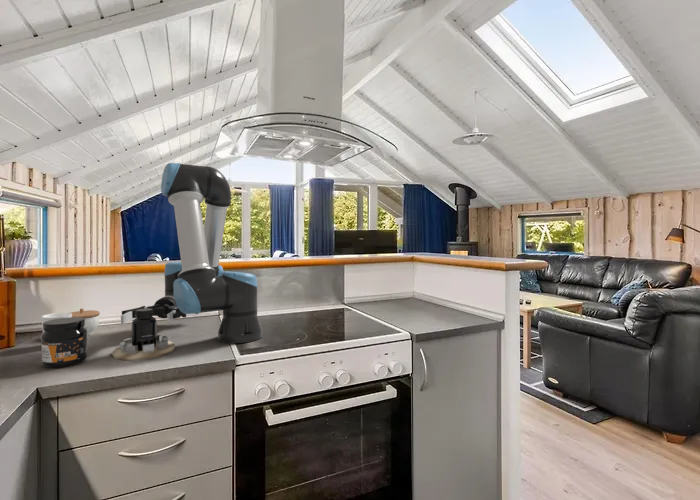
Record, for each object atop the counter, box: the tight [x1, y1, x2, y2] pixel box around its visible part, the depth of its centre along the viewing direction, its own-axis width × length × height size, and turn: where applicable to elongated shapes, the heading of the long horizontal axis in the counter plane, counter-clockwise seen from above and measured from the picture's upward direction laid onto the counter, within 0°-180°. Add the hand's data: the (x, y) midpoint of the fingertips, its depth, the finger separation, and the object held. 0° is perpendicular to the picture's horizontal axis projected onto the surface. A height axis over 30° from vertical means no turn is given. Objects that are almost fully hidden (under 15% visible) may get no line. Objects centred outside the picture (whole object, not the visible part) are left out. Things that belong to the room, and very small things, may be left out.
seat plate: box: [112, 340, 176, 361], centre depth 118 cm, size 17×17×1 cm
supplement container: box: [40, 317, 89, 369], centre depth 107 cm, size 10×10×12 cm
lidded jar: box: [70, 308, 101, 336], centre depth 137 cm, size 11×11×9 cm
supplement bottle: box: [131, 308, 158, 351], centre depth 117 cm, size 7×7×12 cm
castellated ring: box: [119, 334, 169, 355], centre depth 118 cm, size 13×13×2 cm
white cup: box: [41, 312, 72, 333], centre depth 123 cm, size 8×8×10 cm
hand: (145, 319), depth 119 cm, fingers open, 13 cm apart
